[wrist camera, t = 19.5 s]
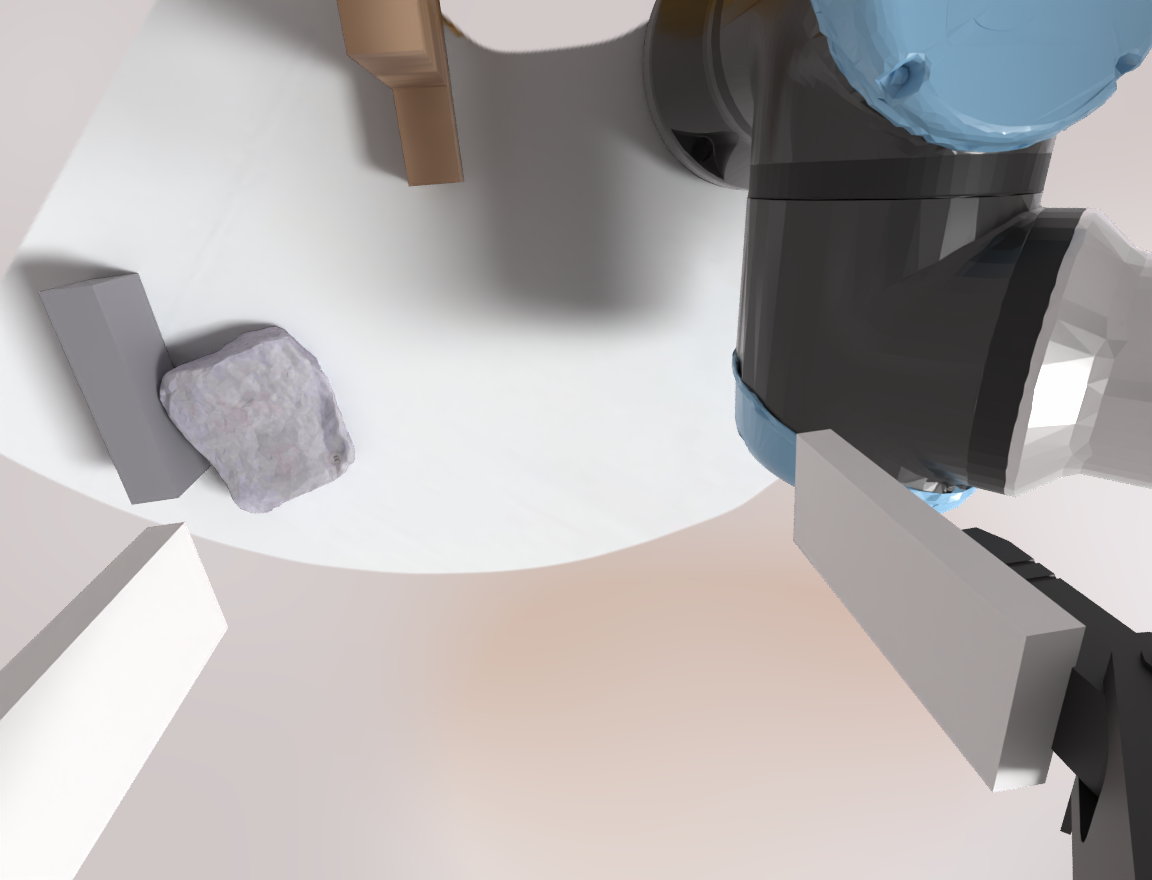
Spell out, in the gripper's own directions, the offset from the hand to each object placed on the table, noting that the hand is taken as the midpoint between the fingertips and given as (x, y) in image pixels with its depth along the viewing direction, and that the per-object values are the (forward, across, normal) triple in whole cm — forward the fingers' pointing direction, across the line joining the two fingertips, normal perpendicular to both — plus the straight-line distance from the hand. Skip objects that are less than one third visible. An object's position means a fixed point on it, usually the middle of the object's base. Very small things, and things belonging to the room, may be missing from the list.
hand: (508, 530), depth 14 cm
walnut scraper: (+33, +3, -14) cm, 36 cm away
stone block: (+33, +18, +7) cm, 38 cm away
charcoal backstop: (+33, +25, +3) cm, 41 cm away
